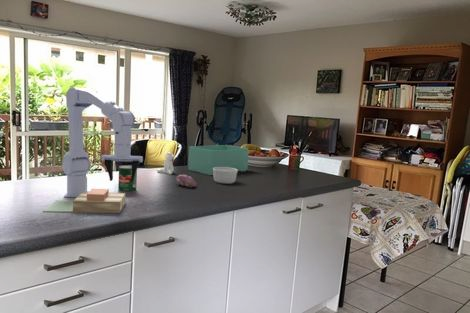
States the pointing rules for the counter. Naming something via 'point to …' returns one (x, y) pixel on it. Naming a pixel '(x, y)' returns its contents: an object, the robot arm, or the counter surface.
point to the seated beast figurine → (167, 164)
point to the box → (217, 158)
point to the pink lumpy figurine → (186, 180)
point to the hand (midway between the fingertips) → (121, 180)
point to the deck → (99, 203)
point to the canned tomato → (126, 179)
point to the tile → (97, 194)
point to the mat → (60, 206)
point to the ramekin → (224, 174)
